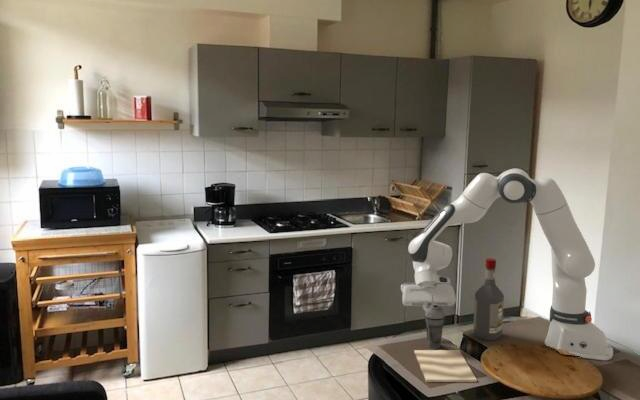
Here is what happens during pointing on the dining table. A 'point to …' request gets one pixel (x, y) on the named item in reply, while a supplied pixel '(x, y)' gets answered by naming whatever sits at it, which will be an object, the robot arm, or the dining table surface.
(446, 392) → the dining table surface
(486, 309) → the liquor
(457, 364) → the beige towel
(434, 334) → the beverage cup
